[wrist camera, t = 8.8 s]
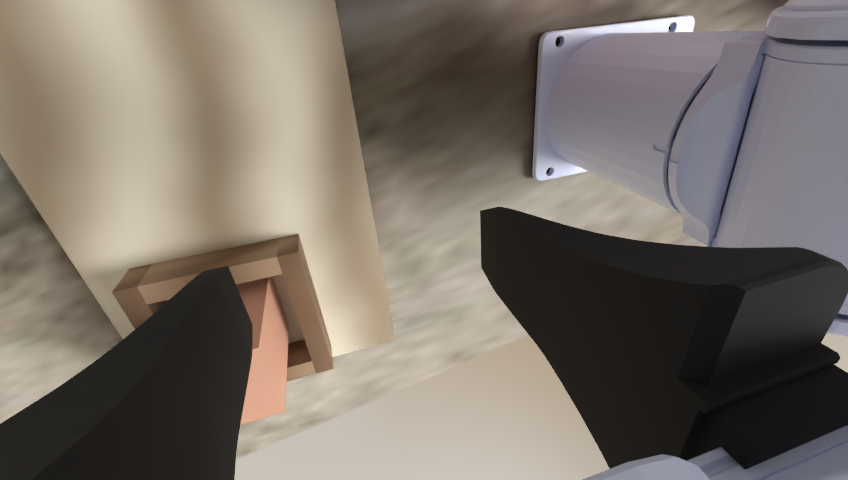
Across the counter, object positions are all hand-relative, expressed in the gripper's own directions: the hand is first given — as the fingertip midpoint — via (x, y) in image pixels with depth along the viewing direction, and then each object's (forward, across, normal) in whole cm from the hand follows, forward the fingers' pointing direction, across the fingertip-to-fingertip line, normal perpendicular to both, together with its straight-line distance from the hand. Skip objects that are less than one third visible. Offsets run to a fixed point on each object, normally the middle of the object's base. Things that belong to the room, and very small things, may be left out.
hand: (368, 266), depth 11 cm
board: (+10, +6, +2) cm, 12 cm away
